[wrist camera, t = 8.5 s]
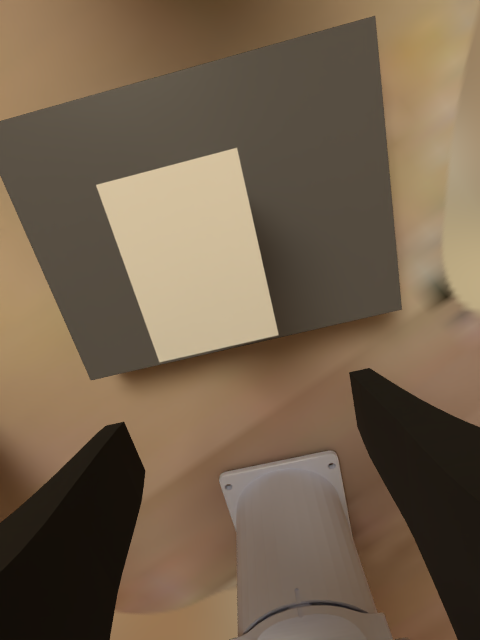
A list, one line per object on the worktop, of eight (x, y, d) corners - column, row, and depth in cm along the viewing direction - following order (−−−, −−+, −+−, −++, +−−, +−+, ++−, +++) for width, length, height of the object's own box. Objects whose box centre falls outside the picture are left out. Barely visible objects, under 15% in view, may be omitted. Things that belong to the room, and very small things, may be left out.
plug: (259, 267, 18) (278, 335, 10) (189, 284, 18) (159, 362, 11) (234, 160, 16) (236, 147, 9) (158, 180, 16) (96, 185, 9)
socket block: (379, 291, 21) (401, 309, 18) (108, 354, 22) (90, 380, 19) (351, 42, 17) (375, 15, 14) (18, 134, 18) (-22, 127, 15)
